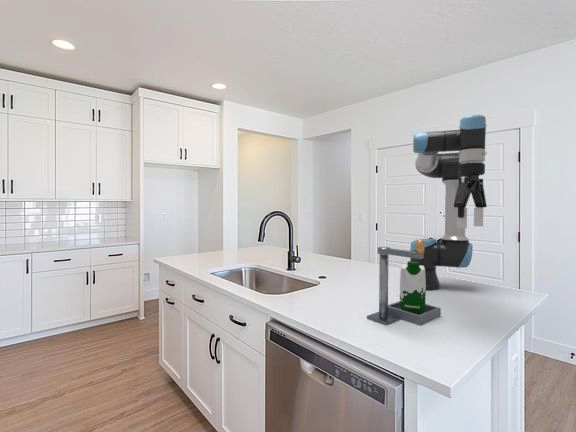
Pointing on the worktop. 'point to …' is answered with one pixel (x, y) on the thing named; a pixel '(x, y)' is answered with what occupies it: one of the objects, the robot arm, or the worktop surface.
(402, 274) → the soya milk
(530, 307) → the worktop surface
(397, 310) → the socket frame
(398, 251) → the crank handle
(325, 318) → the worktop surface
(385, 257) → the post
